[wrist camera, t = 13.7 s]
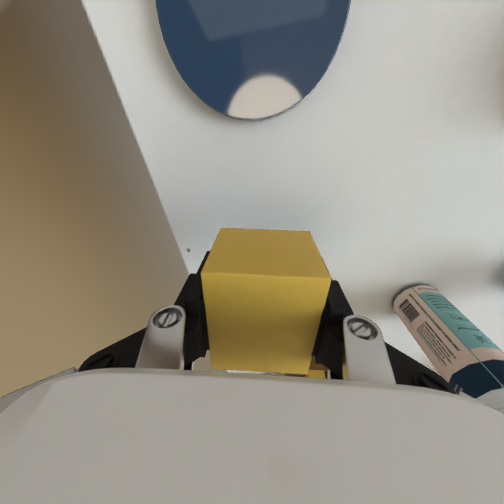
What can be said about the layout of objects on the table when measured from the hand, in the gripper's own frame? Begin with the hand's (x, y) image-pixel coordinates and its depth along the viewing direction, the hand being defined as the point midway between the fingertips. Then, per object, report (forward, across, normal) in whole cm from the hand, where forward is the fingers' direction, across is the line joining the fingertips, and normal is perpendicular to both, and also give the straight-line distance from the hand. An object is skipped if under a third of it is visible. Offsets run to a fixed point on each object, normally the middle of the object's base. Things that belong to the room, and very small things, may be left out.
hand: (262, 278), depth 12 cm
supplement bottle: (+10, -18, +9) cm, 22 cm away
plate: (+10, +1, -14) cm, 17 cm away
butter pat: (0, 0, 0) cm, 0 cm away
